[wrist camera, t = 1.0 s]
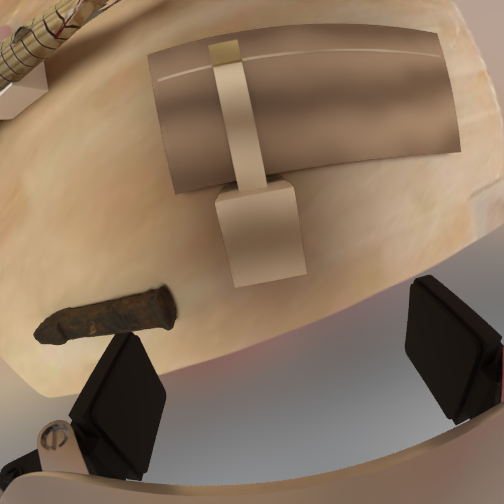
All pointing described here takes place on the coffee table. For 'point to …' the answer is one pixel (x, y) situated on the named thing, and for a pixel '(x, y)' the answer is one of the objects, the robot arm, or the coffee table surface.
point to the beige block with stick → (252, 189)
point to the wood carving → (38, 52)
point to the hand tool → (109, 318)
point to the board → (307, 99)
